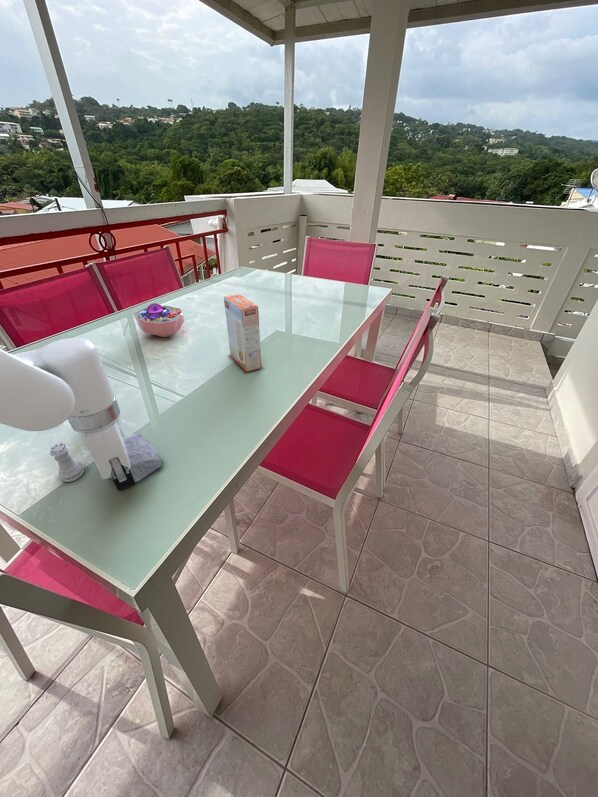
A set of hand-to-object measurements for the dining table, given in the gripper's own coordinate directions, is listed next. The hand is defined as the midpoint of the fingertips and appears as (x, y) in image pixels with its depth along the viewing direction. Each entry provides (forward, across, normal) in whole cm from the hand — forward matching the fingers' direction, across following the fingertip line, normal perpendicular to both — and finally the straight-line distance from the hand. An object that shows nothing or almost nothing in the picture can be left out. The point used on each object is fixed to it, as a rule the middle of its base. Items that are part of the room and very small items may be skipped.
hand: (126, 485), depth 65 cm
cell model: (+2, -74, +30) cm, 79 cm away
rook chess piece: (+2, -11, -9) cm, 14 cm away
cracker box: (+2, -35, +45) cm, 57 cm away
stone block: (+2, -7, +2) cm, 8 cm away
